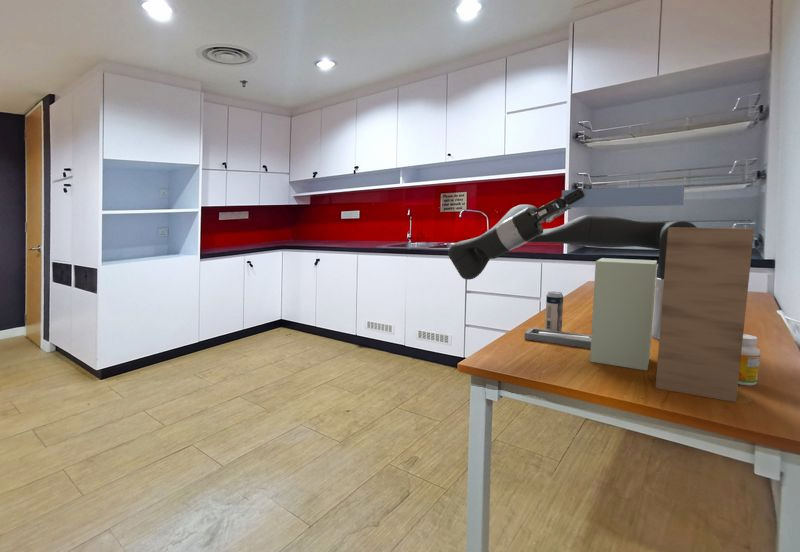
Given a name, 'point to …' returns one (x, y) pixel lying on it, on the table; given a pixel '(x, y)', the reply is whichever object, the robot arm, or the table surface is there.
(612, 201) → the blue block
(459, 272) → the robot arm
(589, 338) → the white hexagonal pencil
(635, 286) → the pale green tall block
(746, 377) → the supplement bottle
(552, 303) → the beer can
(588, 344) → the pen tray
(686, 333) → the walnut stand
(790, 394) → the table surface
